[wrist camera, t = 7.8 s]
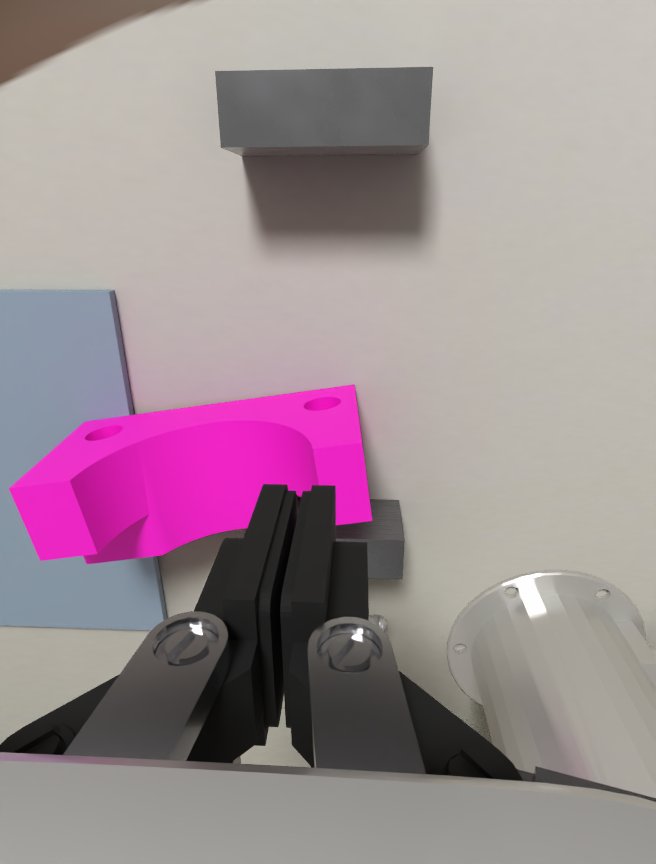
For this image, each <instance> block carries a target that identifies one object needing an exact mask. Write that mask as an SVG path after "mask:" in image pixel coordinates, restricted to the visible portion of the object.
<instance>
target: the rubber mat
mask: <svg viewBox="0 0 656 864" xmlns="http://www.w3.org/2000/svg"><path fill="white" fill-rule="evenodd" d="M129 415H134V410H133V404H132V398H131V392H130V386H129V379H128V373H127V367H126V361H125V355H124V349H123V343H122V336H121V330H120V324H119V318H118V312H117V306H116V299H115V293H114V290H0V626H30V627H60V628H90V629H121V630H151V631H152V630H153V628H154V627H155V626H156V625H158V624H159V623H161V622H162V621H164V620H165V619H167V614H166V607H165V601H164V595H163V589H162V583H161V577H160V570H159V564H158V558H157V556H153V557H145V558H136V559H128V560H120V561H111V562H103V563H95V564H86V562H85V559H84V557H83V556H78V557H69V558H61V559H53V560H45V561H40V559H39V557H38V555H37V552H36V550H35V548H34V545H33V543H32V541H31V538H30V536H29V534H28V532H27V529H26V527H25V525H24V522H23V520H22V518H21V516H20V513H19V511H18V509H17V506H16V504H15V502H14V500H13V497H12V495H11V493H10V490H9V488H10V487H11V486H12V485H13V484H14V483H16V482H17V481H18V480H19V479H20V478H21V477H22V476H24V475H25V474H26V473H27V472H28V471H29V470H30V469H31V468H33V467H34V466H35V465H36V464H37V463H38V462H39V461H41V460H42V459H43V458H44V457H45V456H46V455H47V454H48V453H50V452H51V451H52V450H53V449H54V448H55V447H56V446H57V445H59V444H60V443H61V442H62V441H63V440H64V439H65V438H67V437H68V436H69V435H70V434H71V433H72V432H73V431H74V430H76V429H77V428H78V427H79V426H80V425H81V424H82V423H84V422H85V421H92V420H100V419H107V418H114V417H122V416H129Z"/></svg>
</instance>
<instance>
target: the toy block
mask: <svg viewBox="0 0 656 864" xmlns="http://www.w3.org/2000/svg"><path fill="white" fill-rule="evenodd" d="M263 484H287V486H288V491H296V494H297V495H298V496H300V497H302V492H303V491H311V488H312V485H333V486H335V487H336V525H343V524H351V523H360V522H368V521H372V514H371V506H370V499H369V491H368V484H367V476H366V468H365V461H364V453H363V445H362V438H361V430H360V423H359V415H358V408H357V400H356V393H355V385H349V386H342V387H334V388H327V389H320V390H312V391H305V392H298V393H290V394H283V395H276V396H268V397H261V398H254V399H246V400H239V401H232V402H224V403H217V404H210V405H202V406H195V407H188V408H180V409H173V410H166V411H158V412H151V413H144V414H136V415H129V416H122V417H114V418H107V419H100V420H92V421H85V422H84V423H82V424H81V425H80V426H79V427H78V428H77V429H76V430H74V431H73V432H72V433H71V434H70V435H69V436H68V437H67V438H65V439H64V440H63V441H62V442H61V443H60V444H59V445H57V446H56V447H55V448H54V449H53V450H52V451H51V452H50V453H48V454H47V455H46V456H45V457H44V458H43V459H42V460H41V461H39V462H38V463H37V464H36V465H35V466H34V467H33V468H31V469H30V470H29V471H28V472H27V473H26V474H25V475H24V476H22V477H21V478H20V479H19V480H18V481H17V482H16V483H14V484H13V485H12V486H11V487H10V488H9V490H10V493H11V495H12V497H13V500H14V502H15V504H16V506H17V509H18V511H19V513H20V516H21V518H22V520H23V522H24V525H25V527H26V529H27V532H28V534H29V536H30V538H31V541H32V543H33V545H34V548H35V550H36V552H37V555H38V557H39V559H40V561H45V560H53V559H61V558H69V557H78V556H83V557H84V559H85V562H86V564H95V563H103V562H111V561H120V560H128V559H136V558H145V557H153V556H161V555H164V554H166V553H168V552H170V551H171V550H173V549H175V548H177V547H179V546H181V545H184V544H186V543H189V542H191V541H193V540H196V539H199V538H202V537H205V536H208V535H212V534H216V533H220V532H224V531H230V530H236V529H244V528H248V525H249V522H250V519H251V517H252V514H253V511H254V508H255V505H256V503H257V500H258V497H259V494H260V491H261V488H262V486H263Z"/></svg>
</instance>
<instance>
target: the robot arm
mask: <svg viewBox="0 0 656 864" xmlns="http://www.w3.org/2000/svg"><path fill="white" fill-rule="evenodd" d="M509 587H517V588H518V590H517V592H515V593H514V594H506V593H505V590H506V589H507V588H509ZM602 589H606V590H608V592H607V594H606V595H604V596H602V597H597V596H595V595H596V593H597V592H598V591H599V590H602ZM457 644H464V645H465V648H464V649H462V650H456V649H454V646H455V645H457ZM447 658H448V663H449V667H450V671H451V673H452V675H453V677H454V679H455V681H456V683H457V684H458V685H459V687H460V688H461V689H462V690H463V691H464V693H465V694H467V695H468V696H469V697H470V698H472V699H473V700H474V701H475V702H477V703H479V704H480V705H482V706H483V708H484V712H485V716H486V720H487V724H488V728H489V732H490V736H491V740H492V744H493V745H492V744H491V743H490V742H489V741H487V740H486V739H485V738H483V737H482V736H481V735H480V734H478V733H477V732H476V731H475V730H473V729H472V728H471V727H470V726H468V725H467V724H466V723H464V722H463V721H462V720H461V719H459V718H458V717H457V716H456V715H454V714H453V713H452V712H450V711H449V710H448V709H447V708H445V707H444V706H443V705H442V704H440V703H439V702H438V701H436V700H435V699H434V698H433V697H431V696H430V695H429V694H428V693H426V692H425V691H424V690H423V689H421V688H420V687H419V686H417V685H416V684H415V683H414V682H412V681H411V680H410V679H409V678H407V677H406V676H405V675H403V674H402V673H401V672H400V671H398V667H397V663H396V659H395V656H394V652H393V648H392V645H391V642H390V640H389V638H388V636H387V634H386V633H385V632H384V631H383V630H382V629H381V628H380V627H379V626H378V625H376V624H374V623H372V622H370V621H369V608H368V555H367V542H346V541H336V487H335V486H333V485H312V488H311V491H303V492H302V497H301V501H300V506H299V511H298V516H297V494H296V491H288V486H287V484H263V486H262V488H261V491H260V494H259V497H258V500H257V503H256V505H255V508H254V511H253V514H252V517H251V519H250V522H249V525H248V528H247V531H246V533H245V536H244V539H239V538H226V539H224V541H223V543H222V545H221V547H220V550H219V552H218V555H217V557H216V559H215V562H214V564H213V567H212V569H211V571H210V574H209V576H208V579H207V581H206V583H205V586H204V588H203V591H202V593H201V595H200V598H199V600H198V603H197V605H196V607H195V610H194V611H191V612H185V613H180V614H177V615H174V616H172V617H169V618H167V619H165V620H164V621H162V622H161V623H159V624H158V625H156V626H155V627H154V628H153V630H152V631H151V632H150V633H149V634H148V635H147V637H146V638H145V639H144V641H143V642H142V644H141V645H140V646H139V648H138V649H137V651H136V652H135V654H134V655H133V656H132V658H131V659H130V661H129V662H128V663H127V665H126V666H125V668H124V669H123V671H122V672H121V673H120V674H119V675H118V676H116V677H114V678H112V679H110V680H108V681H107V682H105V683H103V684H101V685H99V686H98V687H96V688H94V689H92V690H90V691H88V692H87V693H85V694H83V695H81V696H79V697H78V698H76V699H74V700H72V701H70V702H68V703H67V704H65V705H63V706H61V707H59V708H57V709H56V710H54V711H52V712H50V713H48V714H47V715H45V716H43V717H41V718H39V719H37V720H36V721H34V722H32V723H30V724H28V725H26V726H25V727H23V728H21V729H20V730H18V731H17V732H15V733H14V734H12V735H11V736H9V737H8V738H7V739H6V740H5V741H4V742H3V743H2V744H1V745H0V864H656V649H655V648H654V647H652V646H651V645H648V644H647V642H646V633H645V626H644V622H643V619H642V617H641V615H640V613H639V611H638V609H637V607H636V606H635V604H634V603H633V602H632V601H631V600H630V598H629V597H628V596H627V595H626V594H625V593H624V592H622V591H621V590H620V589H619V588H617V587H616V586H614V585H613V584H611V583H609V582H607V581H605V580H603V579H601V578H599V577H596V576H593V575H589V574H585V573H581V572H576V571H567V570H545V571H535V572H530V573H525V574H521V575H517V576H514V577H512V578H509V579H506V580H504V581H501V582H499V583H497V584H495V585H493V586H491V587H490V588H488V589H486V590H485V591H483V592H482V593H480V594H479V595H478V596H477V597H475V598H474V599H473V600H472V601H471V602H469V603H468V605H467V606H466V607H465V608H464V609H463V610H462V612H461V613H460V614H459V615H458V617H457V619H456V620H455V622H454V624H453V626H452V628H451V631H450V634H449V638H448V642H447ZM283 696H285V715H286V727H288V728H291V735H292V745H293V747H294V748H295V749H296V750H297V751H298V752H299V753H300V754H301V756H302V757H303V758H304V759H305V760H306V761H307V762H308V763H309V764H310V766H311V768H308V767H290V766H271V765H252V764H241V758H240V756H241V755H242V754H243V753H245V752H246V751H247V750H249V749H250V748H251V747H253V746H254V745H259V746H265V745H266V739H267V733H268V728H269V727H278V725H279V721H280V715H281V709H282V702H283Z"/></svg>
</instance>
